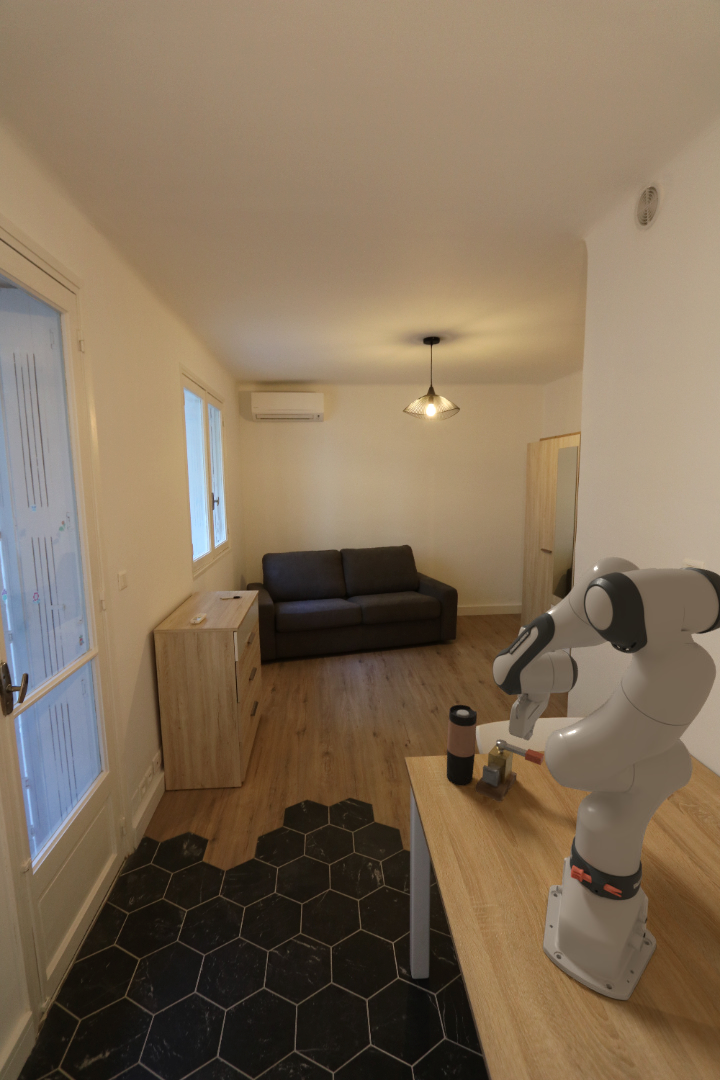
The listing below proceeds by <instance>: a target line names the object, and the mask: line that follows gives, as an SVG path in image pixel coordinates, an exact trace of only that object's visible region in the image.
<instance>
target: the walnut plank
mask: <svg viewBox="0 0 720 1080" xmlns="http://www.w3.org/2000/svg"><path fill="white" fill-rule="evenodd" d="M517 774H518V773H516V772H515V771H512V773H511V776H510V777H509V778H508V780H507V781H506V782H505V784H504V783H502V782H501V783H500V785H499V786H498V788H496V787H493V786H491V785H489V784H486V782H485V781H482V777H483V775H482V777H480V779H479V780H478V781H477V783H476V784H475V789H474V791H475V793H477V794H480V795H483V796H485V797H486V798H489V799H491V800H493V801H495V802H498V803H501V802H502V801H503V799H504V798H505V797H506V796H507V794H508V793H509V791H510V789H511V788H512V787H513V785H514V783H515V782H516V781H517Z"/></svg>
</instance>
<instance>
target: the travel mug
mask: <svg viewBox="0 0 720 1080" xmlns="http://www.w3.org/2000/svg"><path fill="white" fill-rule="evenodd" d="M448 713H449V714H448V729H447V744H446V746H447V747H446V779H447V780H448V781H449V782H450V783H452V784H454V785H457V786H460V787H461V786H468V785H470V784H471V783H472V782H473V777H474V776H473V775H474V766H475V755H476V739H477V718H478V717H477V715H478V714H477V711H476V710H473V709H472V708H471V707H470V706H468V705H464V704H455V705H452V706H451V707H450V708H449V712H448Z"/></svg>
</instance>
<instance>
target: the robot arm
mask: <svg viewBox="0 0 720 1080" xmlns="http://www.w3.org/2000/svg"><path fill="white" fill-rule="evenodd" d="M718 629H720V575H719V574H718V573H717V572H714V571H712V570H708V569H706V568H705V569H704V568H699V567H689V566H688V567H681V568H656V567H652V568H651V567H650V568H642V569H641V568H639V567H638V566H637V565H636V564H635V563H633V562H631V561H630V560H627V559H625V558H622V557H617V556H616V557H615V556H611V557H604V558H601V559H600V560H598V561H597V562H595V563H594V564H593V565H591V566H590V567H589V568H588V569H587V570H586V571H585V572H584V573H583V574H582V575H581V577H580V578H579V579H578V580H577V581H576V583H575V584H574V585H573V587H572V588H571V590H570V591H569V592H568V594H567V595H566V596H564V598H562V599H561V601H559V602H558V603H557V604H555V605H554V606H553V607H551V608H549V610H547V611H546V612H543V613H542V614H540V615H538V616H537V617H536V618H534V619H533V620H531V622H530V623H529V624H524V625H523V626H522V625H521V627H520V629H519V632H518V635H517V637H516V638H515V639H514V640H513V641H512V642H511V644H510V645H509V646H508V647H506V648H503V649H501V650H500V651H499V653H498V654H497V655H496V656H495V658H494V659H493V662H492V677H493V680H494V683H495V684H496V685H497V687H498V688H500V689H501V690H502V691H503V692H504V693H505V694H506V695H508V696H515V695H516V696H517V699H516V700H515V701H514V703H513V704H512V706H511V710H510V717H509V722H508V733H509V734H510V735H512V736H514V737H516V738H519V739H523V740H526V741H529V740H530V739H531V738H532V736H533V735H534V729H535V725H536V722H537V721H538V720H539V719H540V717H541V715H542V714H543V713H544V711H545V710H546V709H547V707H548V706H549V702H550V697H551V694H561V693H564V694H565V693H569V692H571V691H572V690H573V689H574V687H575V685H576V684H577V681H578V677H579V668H578V664H577V663H578V662H577V660H576V659H575V658H574V657H573V656H571V654H569V653H568V652H567V651H565V650H566V649H577V648H578V649H579V648H587V647H588V648H590V647H596V646H600V645H603V644H605V643H606V642H609V643H610V645H611V646H612V648H614V649H615V650H617V651H618V652H621V653H624V654H632V659H631V661H630V664H629V665H628V667H627V668H626V670H625V672H624V673H623V675H622V677H621V678H620V680H619V682H618V684H617V685H616V686H615V688H614V690H613V692H612V693H611V695H610V696H609V698H607V700H606V701H605V702H604V703H603V704H601V706H599V707H598V708H597V709H595V710H594V711H592V712H591V713H589V714H588V715H586V716H585V717H584V718H582V719H580V720H578V721H576V722H575V723H573V724H570V725H568V726H566V727H563V728H560V729H556V730H553V731H552V732H551V733H550V735H549V736H547V740H546V742H545V745H544V753H543V754H544V761H545V764H546V767H547V771H548V772H549V773H550V775H551V777H552V778H553V779H554V780H555V782H557V783H558V784H559V786H561V787H564V788H568V789H569V788H570V789H572V790H579V791H582V792H588V793H589V794H587V795H586V796H585V797H583V799H582V800H581V801H580V803H579V805H578V808H577V813H576V814H577V816H576V826H575V827H576V828H575V836H574V837H572V844H571V846H570V852H569V853H570V855H569V856H567V857H565V858H563V866H562V867H563V868H562V880H561V885H560V884H553V885H551V886H550V887H549V890H548V896H547V897H548V899H547V908H546V913H545V914H546V915H545V924H544V932H543V942H542V949H543V952H544V953H545V955H546V956H547V957H548V959H550V960H551V962H552V963H553V964H555V966H557V967H558V968H559V969H560V970H562V971H563V972H564V973H565V974H566V975H568V976H569V977H571V978H572V979H574V980H575V981H577V982H579V983H580V984H581V985H584V986H585V987H587V988H589V989H591V990H593V991H595V992H596V993H599V994H601V995H603V996H605V997H609V998H611V999H615V1000H619V1001H621V1000H622V1001H627V1000H629V999H630V997H631V995H632V994H633V993H634V990H635V989H636V987H637V985H638V983H639V981H640V979H641V977H642V975H643V973H644V971H645V970H646V967H647V965H648V963H649V962H650V960H651V958H652V957H653V954H654V952H655V950H656V949H657V940H656V937H655V936H654V935H653V933H651V931H650V930H649V929H648V928H647V921H648V906H649V897H648V896H647V894H646V893H645V891H644V890H643V888H642V886H641V884H642V878H643V863H642V860H641V857H642V850H643V844H644V838H645V834H646V830H647V827H648V825H649V823H650V822H651V820H652V818H653V817H654V815H655V813H656V812H657V811H658V809H659V807H661V806H662V804H663V803H664V802H665V801H666V800H667V799H668V798H669V797H670V796H672V795H673V794H674V793H675V792H677V791H678V790H680V789H682V788H684V787H686V786H687V785H688V784H689V782H690V780H691V779H692V775H693V770H694V769H693V760H692V757H691V754H690V751H689V749H688V748H687V746H686V745H685V743H684V742H683V741H682V739H680V738H681V737H682V736H683V734H684V733H685V732H686V730H687V729H688V728H689V727H690V725H691V724H692V723H693V721H694V720H695V719H696V717H697V716H698V715H699V713H701V710H702V709H703V707H704V705H705V704H706V702H707V700H708V698H709V696H710V694H711V691H712V689H713V685H714V683H715V680H716V676H717V667H716V663H715V662H714V659H713V657H712V656H711V654H710V653H709V652H708V651H707V650H706V649H705V648H704V647H703V646H701V645H700V644H699V643H697V642H696V641H694V638H693V637H692V635H693V634H697V635H700V634H701V635H703V634H706V633H711V632H713V631H716V630H718Z"/></svg>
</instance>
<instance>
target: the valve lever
mask: <svg viewBox="0 0 720 1080" xmlns="http://www.w3.org/2000/svg"><path fill="white" fill-rule="evenodd" d="M495 745H496V747H497V748H498V749H500V750H507V751H510V752H513V754H516V755H518V756H521V757H524V760H526V761H529V762H531V763H533V764H536V765H539V766H541V765H542V763H543V761H544V760H545V754H544V753H541V752H539V751H536V750H534V749H531V748H528V749H524V748H521V747H519V746H516V745H513V744H511V743H508V742H507V741H506V740H504V739H496V741H495Z"/></svg>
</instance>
